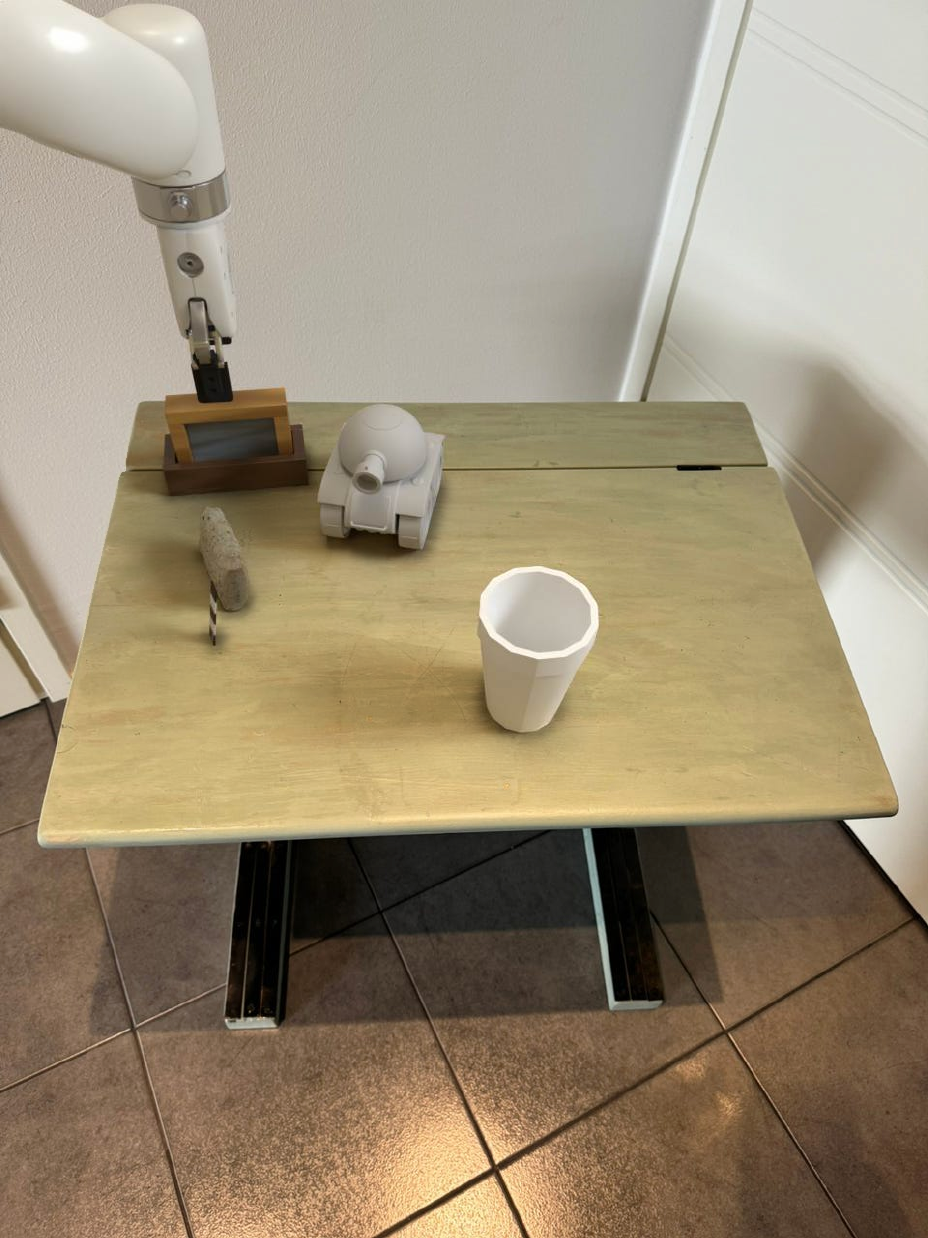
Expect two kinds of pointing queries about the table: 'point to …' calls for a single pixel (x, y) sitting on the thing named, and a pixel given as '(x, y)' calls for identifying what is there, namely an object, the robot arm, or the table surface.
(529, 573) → the foam cup
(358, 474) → the toy tank
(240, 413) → the frame
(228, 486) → the holder
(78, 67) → the robot arm
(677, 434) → the table surface
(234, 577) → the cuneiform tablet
